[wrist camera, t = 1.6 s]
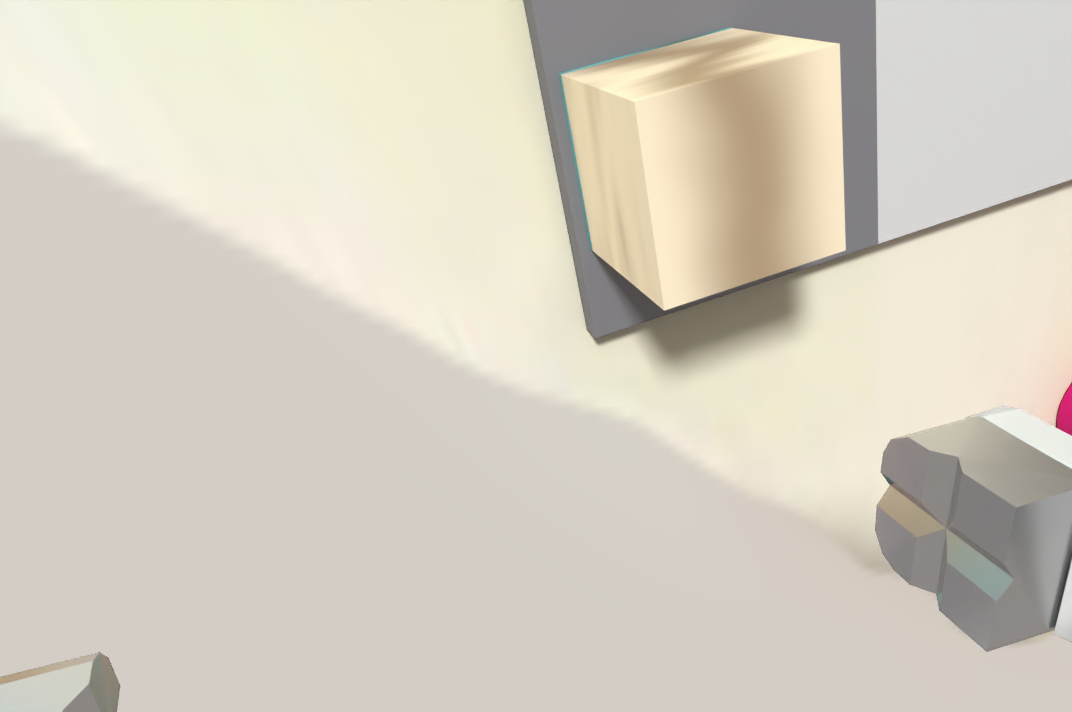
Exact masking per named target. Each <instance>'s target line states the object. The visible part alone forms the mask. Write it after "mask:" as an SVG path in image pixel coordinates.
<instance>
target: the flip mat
mask: <svg viewBox="0 0 1072 712" xmlns="http://www.w3.org/2000/svg"><path fill="white" fill-rule="evenodd" d="M523 1H524V6H525V12H526V17H527V22H528V27H529V32H530V38H531V43H532V48H533V53H534V58H535V63H536V69H537V74H538V79H539V84H540V89H541V94H542V100H543V105H544V110H545V115H546V120H547V125H548V131H549V136H550V141H551V146H552V151H553V157H554V162H555V167H556V172H557V177H558V182H559V188H560V193H561V198H562V203H563V208H564V213H565V219H566V224H567V229H568V234H569V239H570V244H571V250H572V255H573V260H574V265H575V270H576V275H577V281H578V286H579V291H580V296H581V301H582V307H583V312H584V317H585V322H586V327H587V330H588V331H589V332H590V333H591V334H592V336H593V337H594V338H598V337H601V336H604V335H607V334H610V333H613V332H616V331H619V330H622V329H625V328H628V327H631V326H634V325H637V324H640V323H643V322H646V321H649V320H652V319H655V318H658V317H661V316H664V315H667V314H670V313H673V312H676V311H679V310H682V309H685V308H688V307H691V306H694V305H697V304H700V303H703V302H706V301H709V300H712V299H715V298H718V297H721V296H724V295H727V294H730V293H733V292H736V291H739V290H742V289H745V288H748V287H751V286H754V285H757V284H760V283H763V282H766V281H769V280H772V279H775V278H778V277H781V276H784V275H787V274H790V273H793V272H796V271H799V270H802V269H805V268H808V267H811V266H814V265H817V264H820V263H823V262H826V261H829V260H832V259H835V258H838V257H841V256H844V255H847V254H850V253H853V252H856V251H859V250H862V249H865V248H868V247H871V246H874V245H877V244H880V243H883V242H886V241H889V240H892V239H895V238H898V237H901V236H904V235H907V234H910V233H913V232H916V231H919V230H922V229H925V228H928V227H931V226H934V225H937V224H940V223H943V222H946V221H949V220H952V219H955V218H958V217H961V216H964V215H967V214H970V213H973V212H976V211H979V210H982V209H985V208H988V207H991V206H994V205H997V204H1000V203H1003V202H1006V201H1009V200H1012V199H1015V198H1018V197H1021V196H1024V195H1027V194H1030V193H1033V192H1036V191H1039V190H1042V189H1045V188H1048V187H1051V186H1054V185H1057V184H1060V183H1063V182H1066V181H1069V180H1072V0H523ZM725 28H736V29H743V30H749V31H756V32H763V33H770V34H777V35H783V36H790V37H797V38H804V39H811V40H817V41H824V42H831V43H838V44H840V69H841V103H842V137H843V171H844V205H845V239H846V250H845V251H842V252H839V253H836V254H833V255H830V256H827V257H824V258H821V259H818V260H815V261H812V262H809V263H806V264H803V265H800V266H797V267H794V268H791V269H788V270H785V271H782V272H779V273H776V274H773V275H770V276H767V277H764V278H761V279H758V280H755V281H752V282H749V283H746V284H743V285H740V286H737V287H734V288H731V289H728V290H725V291H722V292H719V293H716V294H713V295H710V296H707V297H704V298H701V299H698V300H695V301H692V302H689V303H686V304H683V305H680V306H677V307H674V308H671V309H668V310H665V311H664V310H663V309H662V308H660V307H659V306H658V305H657V304H656V303H654V302H653V301H652V300H651V299H650V298H648V297H647V296H646V295H645V294H644V293H642V292H641V291H640V290H639V289H638V288H636V287H635V286H634V285H633V284H632V283H630V282H629V281H628V280H627V279H626V278H625V277H623V276H622V275H621V274H620V273H619V272H617V271H616V270H615V269H614V268H613V267H611V266H610V265H609V264H608V263H607V262H605V261H604V260H603V259H602V258H601V257H599V256H598V255H597V254H596V253H595V252H593V251H592V250H591V249H590V244H589V239H588V234H587V228H586V223H585V217H584V212H583V206H582V201H581V195H580V190H579V184H578V179H577V173H576V168H575V162H574V157H573V151H572V146H571V140H570V135H569V129H568V124H567V118H566V113H565V107H564V102H563V96H562V91H561V85H560V80H559V73H563V72H567V71H570V70H574V69H578V68H581V67H585V66H589V65H592V64H596V63H600V62H603V61H607V60H611V59H614V58H618V57H622V56H626V55H629V54H633V53H637V52H640V51H644V50H648V49H651V48H655V47H659V46H662V45H666V44H670V43H673V42H677V41H681V40H684V39H688V38H692V37H695V36H699V35H703V34H706V33H710V32H714V31H718V30H721V29H725Z"/></svg>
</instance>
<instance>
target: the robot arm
mask: <svg viewBox="0 0 1072 712" xmlns="http://www.w3.org/2000/svg"><path fill="white" fill-rule="evenodd" d="M881 473H882V475H883V476H884V477H885V479H886V480H887V482H888V483H889V484H890V486H889V488H888V489H887V491H886V492H885V494H884V495H883V497H882V498H881V500H880V501H879V503H878V504H877V510H876V524H875V531H876V535H877V538H878V541H879V544H880V547H881V550H882V553H883V555H884V556H885V558H886V559H887V561H888V562H889V564H890V565H891V566H892V568H893V569H894V570H895V571H896V572H897V573H898V574H899V575H900V576H901V577H902V578H903V579H904V580H905V581H907V582H908V583H909V584H910V585H913V586H916V587H919V588H921V589H924V590H927V591H930V592H933V593H936V595H937V600H938V605H939V610H940V611H941V612H942V613H943V614H944V615H945V616H946V617H947V618H949V619H950V620H951V621H952V622H953V623H954V624H956V625H957V626H958V627H959V628H960V629H961V630H962V631H964V632H965V633H966V634H967V635H968V636H969V637H971V638H972V639H973V640H974V641H975V642H976V643H977V644H979V645H980V646H981V647H982V648H983V649H984V650H985V651H987V652H988V651H991V650H994V649H997V648H1000V647H1003V646H1006V645H1009V644H1013V643H1016V642H1019V641H1022V640H1025V639H1028V638H1031V637H1034V636H1037V635H1040V634H1043V633H1047V632H1050V631H1053V630H1055V631H1054V635H1056V636H1059V637H1061V638H1063V639H1065V640H1068V641H1070V642H1072V436H1071V435H1069V434H1067V433H1065V432H1063V431H1061V430H1060V429H1058V428H1056V427H1054V426H1052V425H1050V424H1048V423H1046V422H1045V421H1043V420H1041V419H1039V418H1037V417H1035V416H1033V415H1031V414H1030V413H1028V412H1026V411H1024V410H1022V409H1020V408H1013V407H1006V406H1002V407H998V408H995V409H992V410H988V411H985V412H982V413H978V414H975V415H972V416H968V417H966V418H965V419H963V420H959V421H956V422H952V423H948V424H945V425H941V426H938V427H934V428H930V429H927V430H923V431H919V432H916V433H912V434H909V435H905V436H901V437H898V438H894V439H891V440H890V442H889V444H888V445H887V447H886V449H885V451H884V452H883V458H882V466H881ZM119 691H120V684H119V682H118V679H117V677H116V675H115V673H114V670H113V668H112V665H111V663H110V661H109V658H108V657H106V656H105V655H103V654H101V653H100V652H99V653H95V654H91V655H87V656H83V657H79V658H75V659H71V660H66V661H63V662H58V663H54V664H51V665H46V666H43V667H38V668H34V669H30V670H27V671H22V672H18V673H14V674H10V675H7V676H2V677H0V712H117V707H118V699H119Z"/></svg>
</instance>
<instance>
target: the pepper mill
mask: <svg viewBox="0 0 1072 712" xmlns="http://www.w3.org/2000/svg"><path fill="white" fill-rule="evenodd" d="M1057 428H1058V429H1060V430H1061V431H1063V432H1065V433H1067V434H1069V435H1071V436H1072V384H1071V385H1070V387H1069V388H1068V390H1067V392H1066V393H1065V395H1064V397H1063V399H1062V402H1061V404H1060V407H1059V411H1058V416H1057Z"/></svg>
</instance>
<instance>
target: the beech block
mask: <svg viewBox="0 0 1072 712" xmlns="http://www.w3.org/2000/svg"><path fill="white" fill-rule="evenodd" d="M559 80H560V85H561V91H562V96H563V102H564V107H565V113H566V118H567V124H568V129H569V135H570V140H571V146H572V151H573V157H574V162H575V168H576V173H577V179H578V184H579V190H580V195H581V201H582V206H583V212H584V217H585V223H586V228H587V234H588V239H589V244H590V249H591V250H592V251H593V252H595V253H596V254H597V255H598V256H599V257H601V258H602V259H603V260H604V261H605V262H607V263H608V264H609V265H610V266H611V267H613V268H614V269H615V270H616V271H617V272H619V273H620V274H621V275H622V276H623V277H625V278H626V279H627V280H628V281H629V282H630V283H632V284H633V285H634V286H635V287H636V288H638V289H639V290H640V291H641V292H642V293H644V294H645V295H646V296H647V297H648V298H650V299H651V300H652V301H653V302H654V303H656V304H657V305H658V306H659V307H660V308H662V309H663V310H664V311H665V310H668V309H671V308H674V307H677V306H680V305H683V304H686V303H689V302H692V301H695V300H698V299H701V298H704V297H707V296H710V295H713V294H716V293H719V292H722V291H725V290H728V289H731V288H734V287H737V286H740V285H743V284H746V283H749V282H752V281H755V280H758V279H761V278H764V277H767V276H770V275H773V274H776V273H779V272H782V271H785V270H788V269H791V268H794V267H797V266H800V265H803V264H806V263H809V262H812V261H815V260H818V259H821V258H824V257H827V256H830V255H833V254H836V253H839V252H842V251H845V250H846V239H845V205H844V171H843V137H842V103H841V69H840V44H838V43H831V42H824V41H817V40H811V39H804V38H797V37H790V36H783V35H777V34H770V33H763V32H756V31H749V30H743V29H736V28H725V29H721V30H718V31H714V32H710V33H706V34H703V35H699V36H695V37H692V38H688V39H684V40H681V41H677V42H673V43H670V44H666V45H662V46H659V47H655V48H651V49H648V50H644V51H640V52H637V53H633V54H629V55H626V56H622V57H618V58H614V59H611V60H607V61H603V62H600V63H596V64H592V65H589V66H585V67H581V68H578V69H574V70H570V71H567V72H563V73H559Z"/></svg>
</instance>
